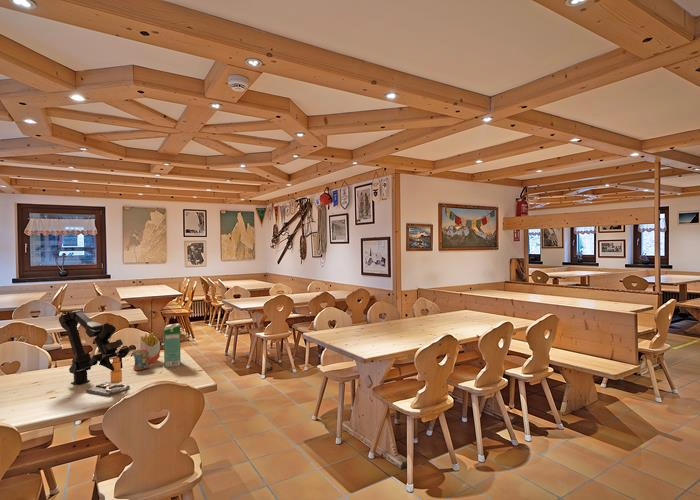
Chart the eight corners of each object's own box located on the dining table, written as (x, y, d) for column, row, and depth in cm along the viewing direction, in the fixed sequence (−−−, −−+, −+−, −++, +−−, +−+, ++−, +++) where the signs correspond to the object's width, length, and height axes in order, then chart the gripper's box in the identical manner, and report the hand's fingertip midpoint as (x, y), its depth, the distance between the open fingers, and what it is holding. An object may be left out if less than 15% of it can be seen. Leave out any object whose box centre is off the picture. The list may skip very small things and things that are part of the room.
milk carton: (164, 363, 258) (163, 324, 257) (179, 361, 262) (179, 322, 261) (164, 367, 250) (163, 326, 249) (180, 365, 254) (180, 325, 253)
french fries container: (160, 360, 265) (159, 332, 265) (145, 365, 255) (145, 336, 255) (155, 359, 267) (154, 332, 267) (140, 364, 257) (140, 335, 257)
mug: (128, 370, 245) (128, 352, 244) (141, 365, 254) (140, 348, 253) (144, 372, 241) (144, 354, 241) (156, 367, 250) (156, 350, 250)
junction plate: (86, 392, 209) (86, 387, 209) (107, 384, 220) (107, 379, 220) (112, 397, 202) (112, 392, 202) (133, 389, 214) (133, 384, 214)
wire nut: (109, 381, 210) (109, 358, 210) (121, 379, 213) (120, 356, 213) (111, 384, 206) (111, 360, 206) (122, 382, 209) (122, 358, 209)
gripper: (92, 339, 202) (106, 364, 198) (127, 331, 219) (141, 354, 214) (83, 353, 206) (96, 378, 202) (118, 344, 223) (132, 367, 218)
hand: (117, 369), depth 209 cm, fingers closed on wire nut, 4 cm apart
